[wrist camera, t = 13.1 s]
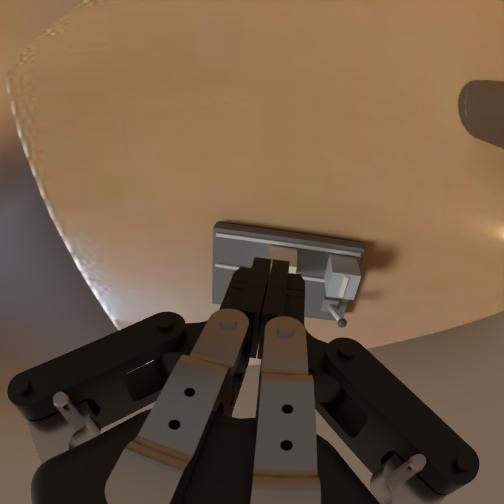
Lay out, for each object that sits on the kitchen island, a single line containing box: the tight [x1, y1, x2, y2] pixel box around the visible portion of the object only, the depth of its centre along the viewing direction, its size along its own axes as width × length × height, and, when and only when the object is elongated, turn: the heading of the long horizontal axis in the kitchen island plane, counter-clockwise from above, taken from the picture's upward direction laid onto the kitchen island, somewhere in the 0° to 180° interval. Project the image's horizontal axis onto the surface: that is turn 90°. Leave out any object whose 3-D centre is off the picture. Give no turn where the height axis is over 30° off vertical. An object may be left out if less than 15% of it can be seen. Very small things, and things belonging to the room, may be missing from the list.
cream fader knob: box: [267, 245, 297, 274], centre depth 42 cm, size 4×4×5 cm
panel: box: [212, 222, 365, 327], centre depth 45 cm, size 22×14×7 cm, turn 85°
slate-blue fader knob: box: [324, 253, 361, 300], centre depth 41 cm, size 4×4×5 cm
